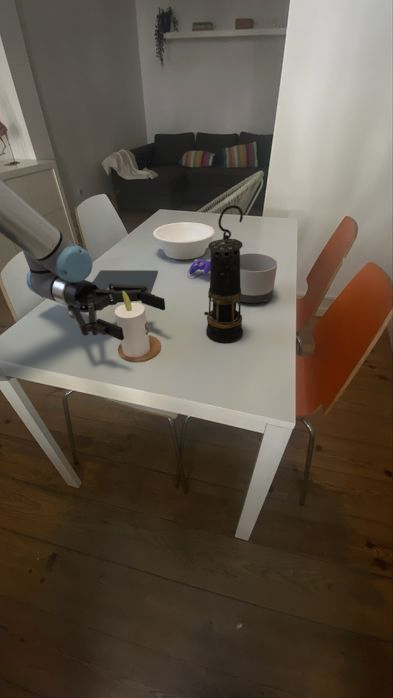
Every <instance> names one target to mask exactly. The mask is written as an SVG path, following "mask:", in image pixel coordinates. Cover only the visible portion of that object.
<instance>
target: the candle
mask: <svg viewBox="0 0 393 698" xmlns="http://www.w3.org/2000/svg"><path fill="white" fill-rule="evenodd" d="M122 294H123V298H124V302H123V304H121V305H119V306H117V307H116V308H115V310H114V315H115V320H116V325H117V326H119V327H122V330H123V335H124V339H123V340H122V341H121V340H120V344H121V345H122V349H123V353H124V354H125V355H126V356H128V357H132V358H136V357H141V356H144V355H145V354H147V353H148V352H149V350H150V343H149V336H148V335H149V331H150V328H149V327H150V326H148V324H149V322H148V321H147V316H146V315H147V314H146V309H145V306H144V304H142V303H138V302H130V300H129V297H128V295H127V294H126V292H124V291H122Z"/></svg>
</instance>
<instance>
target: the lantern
mask: <svg viewBox="0 0 393 698" xmlns="http://www.w3.org/2000/svg"><path fill="white" fill-rule="evenodd" d="M231 209H236V210H238V212H239V214H240V216H239V223H242V221H243V219H244V214H243V213H244V212H243V210H242V209H241V207H240V206H238V205H233V204H232V205H229V206H226V207H225V208H224V209H223V210H222V211H221V213H220V215H219V218H218V227H219V229H220V230H221V231H222V232H223V233H222V238H221V239H215V240H212V242H211V243H210V244H209V245H208V247H207V248H208V249H209V250H210V259H211V266H210V272H209V288H208V291H207V298H208V311H205V312H204V313H203V315H204V316H206V321H207V327H206V330H205V334H206V336H207V338H208V339H209V340H210V341H212V342H214V343H218V344H233V343H236V342H238V341H239V340H241V339H242V338H243V335H244V329H243V327H242V326H243V325H242V323H243V316H242V314H241V301H240V299H241V288H240V254H241V251H240V250H241V249H242V248H243V242H242V240H239V239H236V238H231V237H232V232H231V230H229V229H227V228H223V226H222V219H223V217H224V214H225V213H226V212H227V211H228V210H231ZM237 302H238V310H237ZM211 307H212V309H211Z"/></svg>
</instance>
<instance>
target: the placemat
mask: <svg viewBox="0 0 393 698" xmlns="http://www.w3.org/2000/svg"><path fill="white" fill-rule="evenodd" d="M158 272H159V270H150V269H149V270H144V269H143V270H141V269H139V270H136V269H135V270H131V269H129V270H127V269H126V270H125V269H124V270H123V269H122V270H120V269H119V270H117V269H116V270H115V269H113V270H111V269H109V270H108V269H107V270H106V269H105V270H104V269H102V270H100V271H98V273H97V275H96V276H95V277H94V279H93V280H92V281H91V282H92V283H94V284H95V285H96V286H97V287H98V288H99V289H108V288H109V284H111V283H112V284H116V285H136V286H147V290H148V293H150V294H152V290H153V287H154V284H155V281H156V279H157V275H158ZM109 296H110V300H111V301H113V299H112V295H111V294H109Z"/></svg>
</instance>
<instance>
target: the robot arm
mask: <svg viewBox="0 0 393 698" xmlns="http://www.w3.org/2000/svg"><path fill="white" fill-rule="evenodd" d="M0 234H1V235H2V236H4V237H5V238H6V239H8V240H9V241H11V243H13V244H15V245H16V246H17V247H18V248H20V249H21V250H22V252H23V255H24V259H25V260H26V263H27V266H28V269H29V270H28V272H27V274H26V285H27V287H28V289H29V290H30V291H31V292H33V293H34V294H36V295H38V296H39V297H41V298H44V299H47V300H50V301H52V302H56V303H58V304H61V305H63V306H65V307H66V308H67V312H68V314H69V317H70V318H71V319H73V320H75V322H76V325H77V326H78V328H79V331H80V332H81V334H82V335H83V336H88V335H89V334H90V333H91V334H92V335H93V336H98V335H99V334H100V335H102V336H107V335H108V336H110V337H112V338H114V339H117V340H119V341H120V342H121V341H122V340H123V339H124V335H123V330H122V327H119V326H118V325H117V324H115V323H111V322H109V321H107V320H104V319H102V318H97V311H102V310H104V309H105V308H106V307H109V306H115V305H117V304H118V303H119V304H120V303H124V298H123V294H122V291H124V292H126V294H127V295H128V297H129V300H130V303H134V302H141V304H142V305H146V306H149V307H151V308H154V309H158V310H160V311H165V310H166V301H165V298H163V297H161V296H158V295H155V294H152V293H148V290H147V286H136V285H116V284H112V283H111V284H109V288H108V289H99V288H98V287H97V286H96V285H95V284H94V283H92V282H93V281H89V280H86V279H88V277H89V276H90V274H91V273H92V270H93V266H94V265H93V264H94V263H93V258H92V256H91V254H90V253H89V252H88V251H87V250H86V249H84V248H83V247H82V246H81V245H79V244H75V243H74V242H73V241H71V240H70V239H69V238H68V237H67V236H66V235H65V234H63V232H61V231H60V230H59V228H57V227H56V226H55V225H54V224H53V223H51V221H49V220H48V219H47V218H46V217H45V216H44V215H42V214H41V212H39V211H38V210H37V209H36V208H35V207H34V206H33V205H32V204H31V203H29V202H28V201H27V200H26V199H25V198H24V197H22V196H21V195H20V193H18V191H16V190H15V189H14V188H13V187H12V186H10V185H9V184H8V183H7V182H6V181H5V180H4V179H3V178H1V177H0ZM109 294H111V295H112V299H113V300H110V296H109ZM81 313H85V314H86V313H88V322H87V323H86V320H85V319H84V317H83V316H82V314H81Z"/></svg>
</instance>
